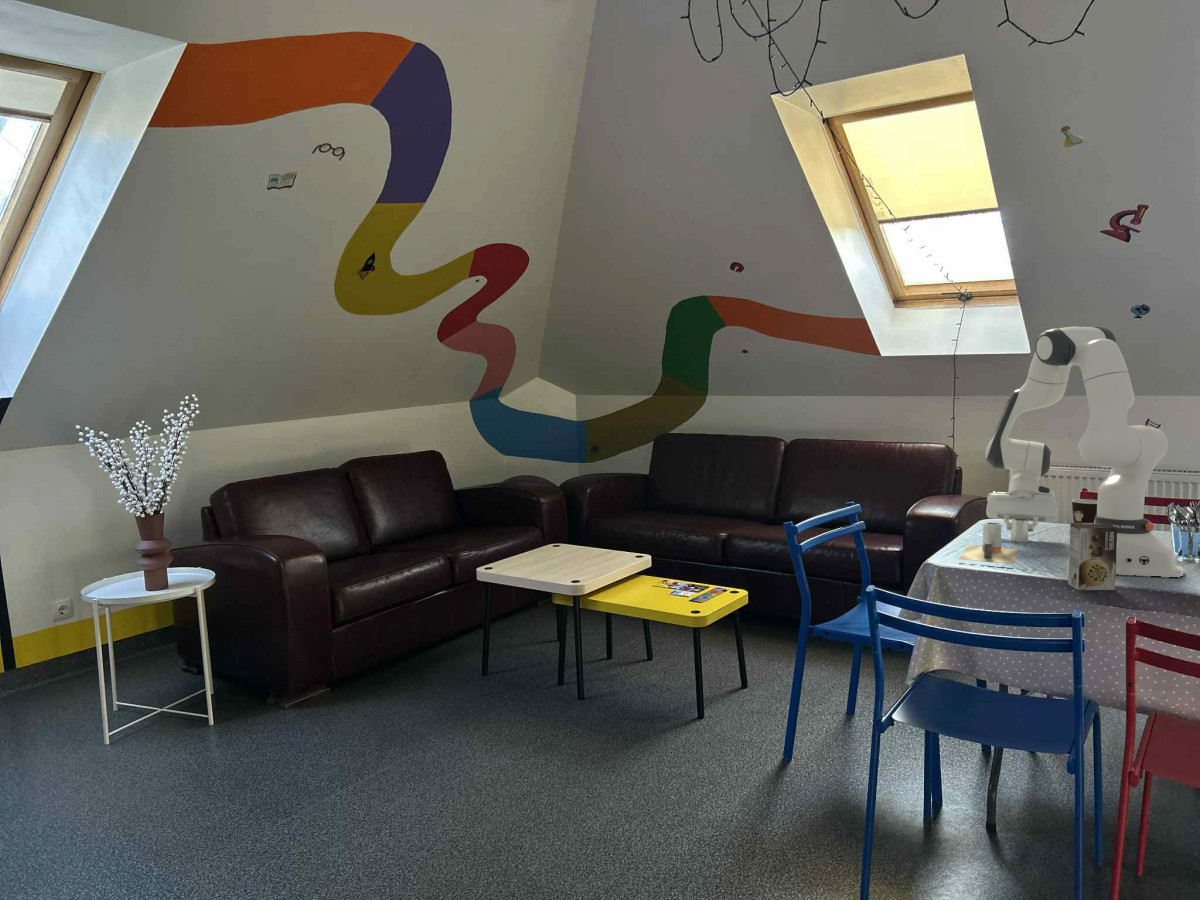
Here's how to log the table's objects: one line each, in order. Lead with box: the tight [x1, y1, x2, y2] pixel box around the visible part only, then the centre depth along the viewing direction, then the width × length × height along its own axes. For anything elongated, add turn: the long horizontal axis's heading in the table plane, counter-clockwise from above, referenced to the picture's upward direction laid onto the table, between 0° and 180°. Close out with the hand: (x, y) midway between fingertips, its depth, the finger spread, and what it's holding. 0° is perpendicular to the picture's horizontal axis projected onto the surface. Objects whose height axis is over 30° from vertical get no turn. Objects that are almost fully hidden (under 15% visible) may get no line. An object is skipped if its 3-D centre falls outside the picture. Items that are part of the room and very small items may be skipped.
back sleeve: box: [981, 521, 1002, 553], centre depth 265 cm, size 5×5×8 cm
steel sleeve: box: [1010, 518, 1030, 543], centre depth 279 cm, size 5×5×8 cm
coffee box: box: [1067, 522, 1117, 591], centre depth 229 cm, size 9×6×16 cm
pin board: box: [958, 543, 1020, 570], centre depth 261 cm, size 14×20×6 cm
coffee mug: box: [1071, 498, 1098, 523], centre depth 296 cm, size 12×9×10 cm
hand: (1019, 529), depth 278 cm, fingers closed on steel sleeve, 5 cm apart
